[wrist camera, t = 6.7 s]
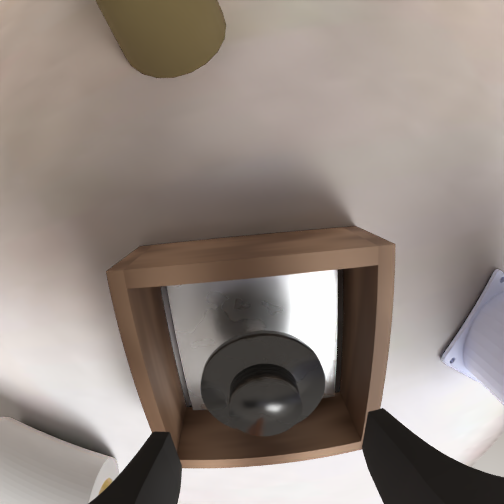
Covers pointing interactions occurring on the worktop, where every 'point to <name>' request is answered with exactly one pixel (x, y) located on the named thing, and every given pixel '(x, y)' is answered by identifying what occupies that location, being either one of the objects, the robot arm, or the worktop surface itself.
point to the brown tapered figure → (166, 33)
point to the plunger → (258, 347)
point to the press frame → (246, 267)
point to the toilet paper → (49, 468)
